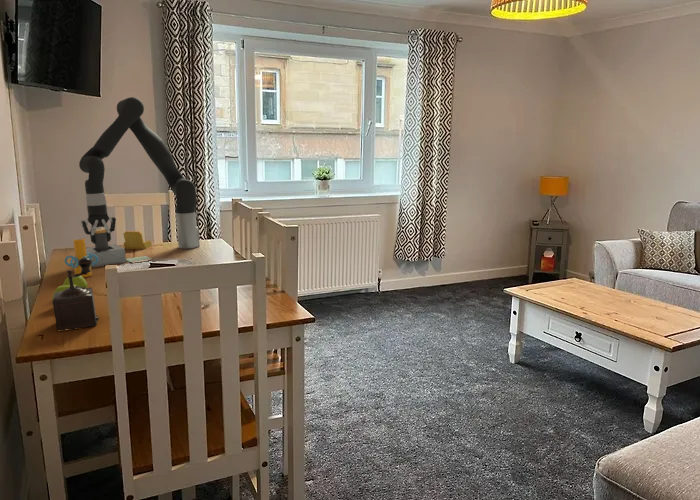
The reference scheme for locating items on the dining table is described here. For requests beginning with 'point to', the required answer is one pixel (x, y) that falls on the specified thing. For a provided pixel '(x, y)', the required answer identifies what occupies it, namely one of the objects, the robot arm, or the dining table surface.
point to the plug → (101, 240)
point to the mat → (137, 258)
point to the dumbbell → (76, 282)
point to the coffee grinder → (75, 303)
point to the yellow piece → (135, 240)
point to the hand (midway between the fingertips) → (101, 242)
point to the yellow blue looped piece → (80, 256)
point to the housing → (107, 255)
